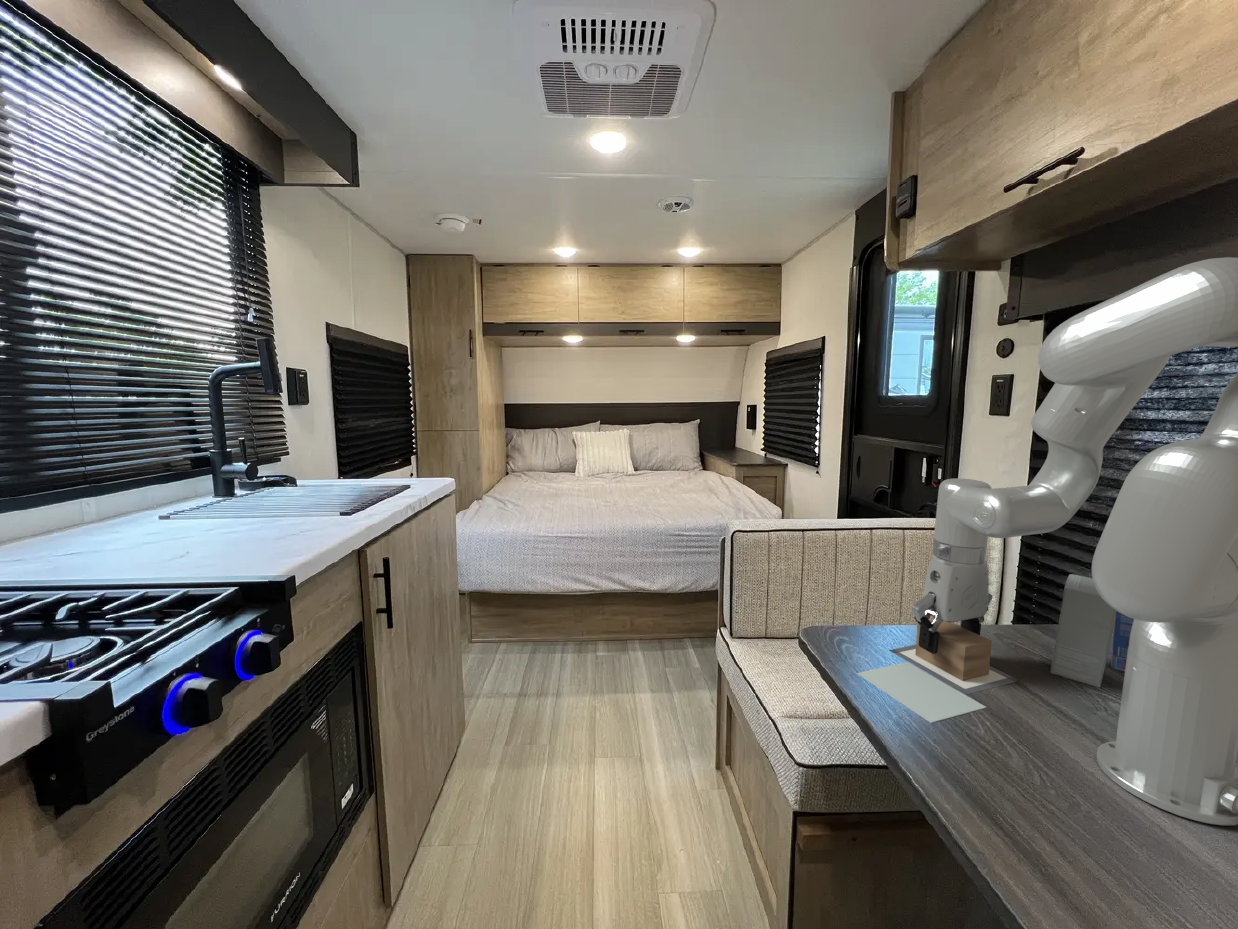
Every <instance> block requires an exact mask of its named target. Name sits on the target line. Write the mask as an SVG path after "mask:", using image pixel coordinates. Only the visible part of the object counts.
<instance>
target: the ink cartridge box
mask: <svg viewBox="0 0 1238 929" xmlns="http://www.w3.org/2000/svg"><path fill="white" fill-rule="evenodd" d="M1133 621H1134V619H1133V618H1130V617H1128V616H1125V615H1123V614H1121V613H1119V612H1118V611H1116V613H1115V621H1114V628H1113V632H1112V646H1111V663H1110V667H1111V669H1113V670H1117V671H1119V672H1124V673H1125V668H1126V660H1127V652H1128V647H1129V640H1130V634H1131V629H1132V625H1133Z"/></svg>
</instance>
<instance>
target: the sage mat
mask: <svg viewBox="0 0 1238 929" xmlns="http://www.w3.org/2000/svg"><path fill="white" fill-rule="evenodd" d="M857 675H859V676H860V677H861V678H863V679H865V680H866V681H868V682H869V683H870V684H872V686H875V687H876V688H878V689H879V690H881V691H882V692H884V693H885V694H887V695H888V696H890V697H892V699H894V700H896V701H897V702H899V703H900V704H902V705H903V706H905V707H907V708H908V709H909V710H911V711H912V712H913V713H915V714H916V715H918V716H919V717H922V718H923V719H925V721H927V722H929V723H930V724H933V723H937V722H941V721H943V720H947V719H951V718H955V717H959V716H962V715H965V714H971V713H973V712H976V711H981V710H984V709H987V706H986V705H983V704H982V703H980V702H978V701H976V700H975V699H973V698H971V697H970V696H968V695H966V694H965V693H963V692H961V691H959V690H958V689H956V688H954V687H952V686H951V685H949V684H947V683H945V682H944V681H942V680H940V679H938V678H936V677H935V676H933V675H931V674H929V673H928V672H926V671H924V670H922V669H921V668H919V667H917V666H915V665H914V664H912V663H910V662H908V661H906V662H905V661H904V662H902V663H896V664H892V665H887V666H882V667H879V668H878V667H877V668H873V669H870V670H865V671H861V672H857Z"/></svg>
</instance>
